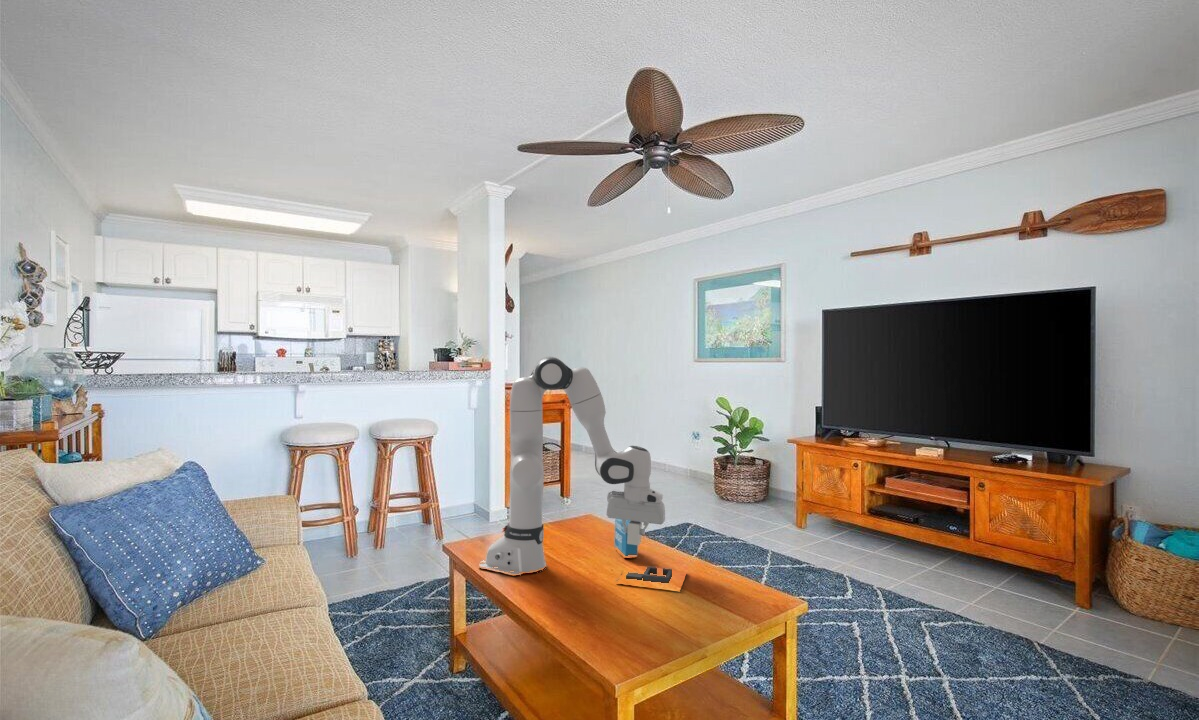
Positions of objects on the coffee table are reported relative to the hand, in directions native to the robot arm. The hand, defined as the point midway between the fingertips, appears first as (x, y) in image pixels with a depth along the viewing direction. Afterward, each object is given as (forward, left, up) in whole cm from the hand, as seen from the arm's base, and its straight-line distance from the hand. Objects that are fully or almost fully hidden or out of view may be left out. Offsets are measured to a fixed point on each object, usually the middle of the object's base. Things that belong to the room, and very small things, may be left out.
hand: (634, 533), depth 199 cm
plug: (0, 0, -3) cm, 3 cm away
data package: (-5, +9, -11) cm, 15 cm away
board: (+9, -12, -11) cm, 18 cm away
